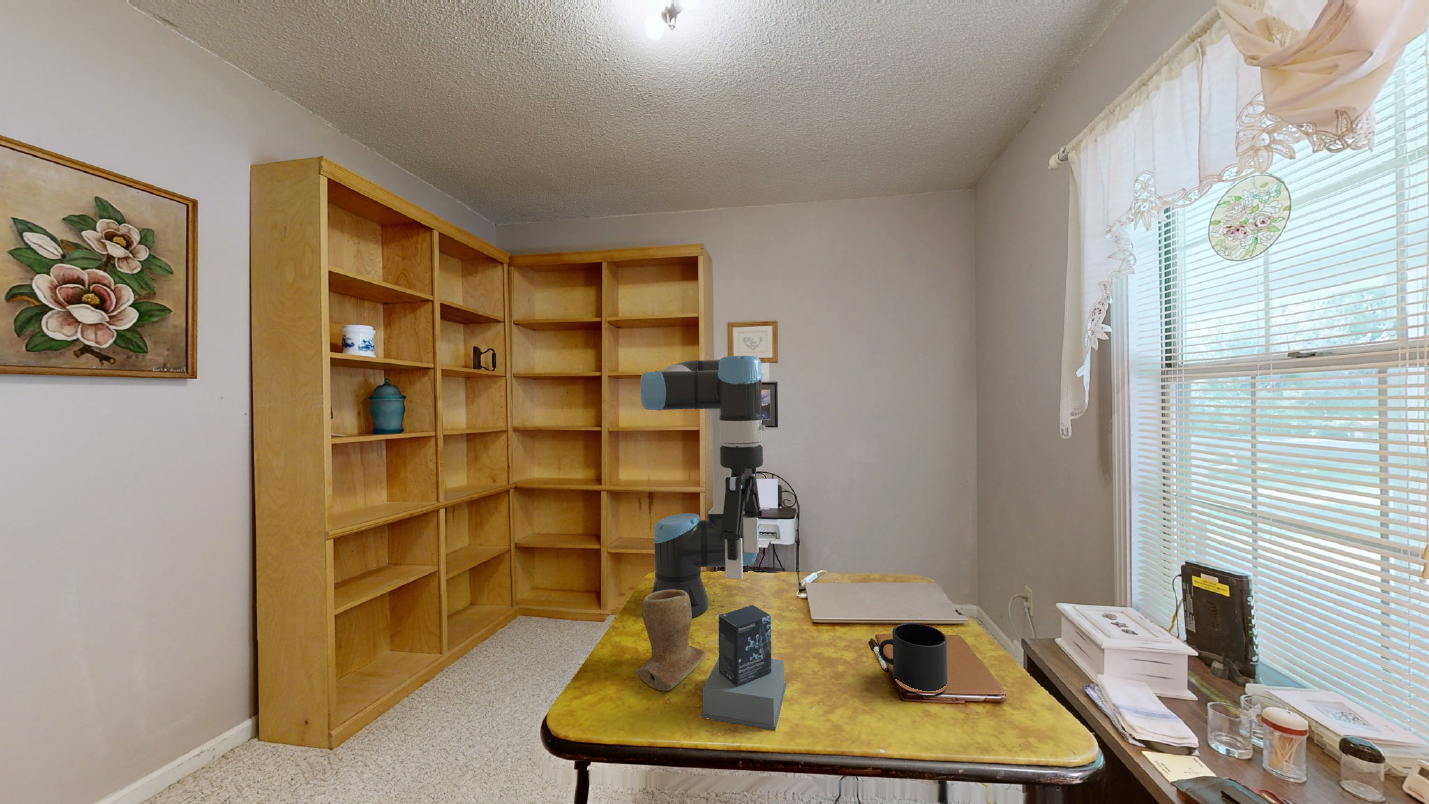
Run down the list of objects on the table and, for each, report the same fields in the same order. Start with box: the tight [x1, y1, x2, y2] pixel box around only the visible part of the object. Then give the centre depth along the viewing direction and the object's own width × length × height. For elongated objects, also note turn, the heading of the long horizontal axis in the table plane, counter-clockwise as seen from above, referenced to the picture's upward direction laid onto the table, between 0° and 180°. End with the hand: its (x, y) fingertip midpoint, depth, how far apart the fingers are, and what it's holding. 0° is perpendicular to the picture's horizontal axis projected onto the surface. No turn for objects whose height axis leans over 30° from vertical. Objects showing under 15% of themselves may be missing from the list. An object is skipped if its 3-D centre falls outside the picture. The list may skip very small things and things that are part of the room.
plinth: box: [700, 657, 787, 731], centre depth 89 cm, size 13×13×5 cm
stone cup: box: [636, 590, 707, 692], centre depth 100 cm, size 15×12×15 cm
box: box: [718, 604, 772, 687], centre depth 89 cm, size 8×6×11 cm
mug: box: [878, 622, 948, 691], centre depth 95 cm, size 9×12×9 cm
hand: (743, 564), depth 89 cm, fingers open, 13 cm apart
